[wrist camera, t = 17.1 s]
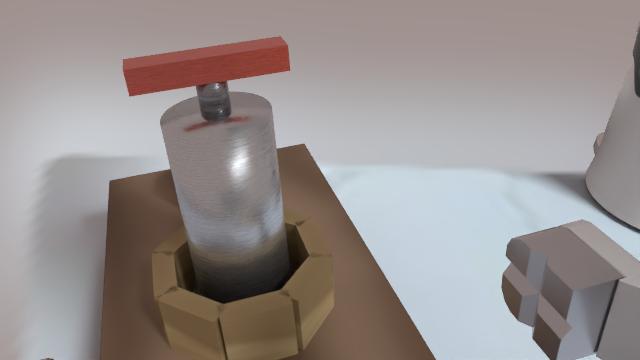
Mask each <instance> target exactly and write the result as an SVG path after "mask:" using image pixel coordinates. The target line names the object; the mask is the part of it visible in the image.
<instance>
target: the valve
mask: <svg viewBox="0 0 640 360" xmlns="http://www.w3.org/2000/svg"><path fill="white" fill-rule="evenodd" d="M284 71H290V65H289V53H288V45H287V44H286V42H285V41H284V40H283V39H282V38H281V37H273V38H266V39H259V40H253V41H246V42H239V43H232V44H225V45H218V46H212V47H205V48H198V49H192V50H184V51H178V52H171V53H164V54H157V55H150V56H144V57H137V58H130V59H123V72H124V76H125V80H126V84H127V88H128V92H129V96H135V95H141V94H148V93H153V92H160V91H166V90H172V89H179V88H185V87H191V86H196V89H197V95H198V96H196V97H193V98H189V99H187V100H184V101H182V102H180V103H178V104H176V105H174V106H172V107H171V108H169V109H168V110H167V111H166V112H165V113H164V114H163V116H162V117H161V120H160V125H161V129H162V133H163V138H164V142H165V146H166V150H167V155H168V159H169V163H170V168H171V172H172V176H173V181H174V185H175V189H176V193H177V198H178V202H179V206H180V211H181V215H182V219H183V223H184V228H185V232H186V236H187V241H188V245H189V249H190V253H191V258H192V262H193V266H194V271H195V275H196V276H195V279H194V290H195V294H198V295H200V296H203V297H206V298H208V299H211V300H214V301H216V302H219V303H221V304H226V303H230V302H234V301H238V300H242V299H246V298H250V297H254V296H258V295H262V294H266V293H270V292H274V291H278V290H281V289H282V288H283V287H284V286H285V284H286V283H287V282H288V281H289V280H290V278H291V277H292V276H293V275H294V274H295V272H294V266H293V263H292V261H291V260H290V258H289V255H288V246H287V238H286V229H285V220H284V211H283V202H282V193H281V184H280V176H279V167H278V158H277V149H276V141H275V132H274V122H273V114H272V106H271V104H270V103H269V101H267V100H266V99H265V98H263V97H261V96H258V95H255V94H251V93H245V92H229V91H228V85H227V81H228V80H234V79H240V78H247V77H253V76H259V75H264V74H272V73H278V72H284Z"/></svg>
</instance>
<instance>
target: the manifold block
mask: <svg viewBox="0 0 640 360" xmlns="http://www.w3.org/2000/svg"><path fill="white" fill-rule="evenodd" d="M277 158H278V167H279V176H280V184H281V193H282V202H283V211H284V220H285V229H286V238H287V246H288V255H289V258H290V260H291V261H292V263H293V266H294V272H295V274H294V275H293V276H292V277H291V278H290V280H289V281H288V282H287V283H286V284H285V286H284V287H283V288H282V289H281V290H278V291H274V292H270V293H266V294H262V295H258V296H254V297H250V298H246V299H242V300H238V301H234V302H230V303H226V304H221V303H219V302H216V301H214V300H211V299H208V298H206V297H203V296H200V295H198V294H195V290H194V279H195V276H196V275H195V271H194V266H193V262H192V258H191V253H190V249H189V245H188V241H187V236H186V232H185V228H184V223H183V219H182V215H181V211H180V206H179V202H178V198H177V193H176V189H175V185H174V181H173V176H172V172H171V169H169V170H164V171H158V172H153V173H148V174H143V175H137V176H132V177H127V178H122V179H116V180H111V181H110V182H109V201H108V219H107V237H106V256H105V274H104V293H103V311H102V330H101V348H100V360H436V359H435V357H434V356H433V354H432V352H431V351H430V349H429V347H428V346H427V344H426V342H425V341H424V339H423V338H422V336H421V334H420V333H419V331H418V329H417V328H416V326H415V324H414V323H413V321H412V320H411V318H410V316H409V315H408V313H407V311H406V310H405V308H404V306H403V305H402V303H401V302H400V300H399V298H398V297H397V295H396V293H395V292H394V290H393V288H392V287H391V285H390V284H389V282H388V280H387V279H386V277H385V275H384V274H383V272H382V270H381V269H380V267H379V265H378V264H377V262H376V261H375V259H374V257H373V256H372V254H371V252H370V251H369V249H368V247H367V246H366V244H365V243H364V241H363V239H362V238H361V236H360V234H359V233H358V231H357V229H356V228H355V226H354V225H353V223H352V221H351V220H350V218H349V216H348V215H347V213H346V211H345V210H344V208H343V207H342V205H341V203H340V202H339V200H338V198H337V197H336V195H335V193H334V192H333V190H332V188H331V187H330V185H329V184H328V182H327V180H326V179H325V177H324V175H323V174H322V172H321V170H320V169H319V167H318V166H317V164H316V162H315V161H314V159H313V157H312V156H311V155H310V152H309V151H308V149H307V148H306V146H305V144H300V145H294V146H289V147H284V148H279V149H277Z"/></svg>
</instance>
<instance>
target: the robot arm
mask: <svg viewBox="0 0 640 360" xmlns="http://www.w3.org/2000/svg"><path fill="white" fill-rule="evenodd" d="M637 32H638V34H637V38H636V42H635V46H634V49H633V57H634V64H633V65H631V67H630V68H629V69H628V71H627V74H626V76H625V79H624V81H623V84H622V86H621V89H620V92H619V94H618V97H617V100H616V102H615V105H614V108H613V110H612V113H611V116H610V119H609V121H608V124H607V127H606V130H605V132H604V133H601V134H599V135H598V136H597V138H596V141H595V143H594V153H595V157H594V159H593V161H592V163H591V164H590V166H589V168H588V170H587V172H586V177H585V180H586V185H587V188H588V190H589V192H590V193H591V195H592V196H593V197H594V199H595V200H596V201H597V202H598V203H599V204H600V205H601V206H602V207H604V208H605V209H606V210H607V211H609V212H610V213H611V214H613V215H614V216H616V217H617V218H619V219H621V220H622V221H624V222H626V223H628V224H630V225H632V226H634V227H636V228H638V229H640V23H639V26H638V29H637ZM506 257H507V258H508V259H509V260H510V261H511V264H510V265H509V266H508V268H507V269H506V270H505V271H504V273H503V277H502V291H503V295H504V300H505V302H506V304H507V306H508V308H509V310H510V311H511V313H512V314H513V315H514V316H515V318H516V319H517V320H518V321H520V322H522V323H524V324H526V325H528V326H531V327H532V338H533V340H534V341H535V342H536V343H537V344H538V346H539V347H540V348H541V349H542V350H543V352H544V353H545V354H546V355H547V356H548V358H549V359H550V360H576V359H579V358H583V357H586V356H590V355H593V354H596V356H597V357H598V358H600V359H602V360H640V262H639V261H638V260H637V259H636V258H634V257H633V256H632V255H631V254H629V253H628V252H627V251H626V250H624V249H623V248H622V247H621V246H619V245H618V244H617V243H616V242H614V241H613V240H612V239H611V238H609V237H608V236H607V235H606V234H604V233H603V232H602V231H601V230H599V229H598V228H597V227H596V226H594V225H593V224H592V223H590V222H588V221H585V220H579V221H575V222H571V223H568V224H564V225H560V226H558V227H553V228H550V229H546V230H542V231H538V232H535V233H531V234H527V235H523V236H520V237H516V238H512V239H511V241H510V242H509V243H508V245H507V250H506ZM42 360H54V359H50V358H46V359H42Z"/></svg>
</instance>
